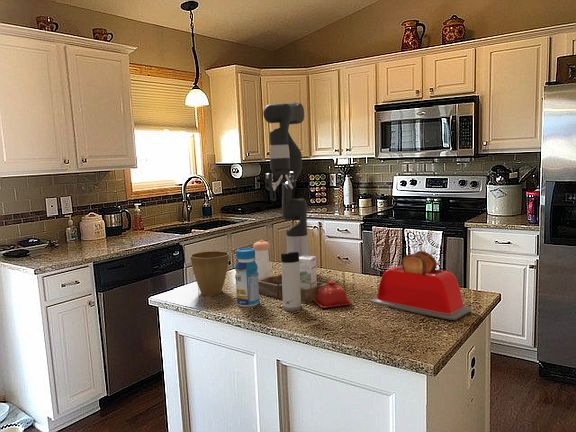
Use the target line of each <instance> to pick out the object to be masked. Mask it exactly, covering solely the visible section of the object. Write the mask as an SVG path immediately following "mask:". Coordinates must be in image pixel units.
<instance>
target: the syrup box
mask: <svg viewBox="0 0 576 432" xmlns="http://www.w3.org/2000/svg"><path fill="white" fill-rule="evenodd" d="M299 265H300V288H303V289H310V288H313V287H316V286H317V282H318V281H317V256H316V255H315V256H314V255H310V256H300V257H299Z"/></svg>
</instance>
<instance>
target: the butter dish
mask: <svg viewBox="0 0 576 432" xmlns="http://www.w3.org/2000/svg"><path fill="white" fill-rule="evenodd" d="M327 284H328V285H327V286H323V287H321V288H319V290H318V296H317V298H316V299H313V301H312V302H314V303H316V304H317V305H318V306H319V307H320V308H324V309H325V308H326V309H327V308H328V309H329V308H336V307H344V306H348V305H351V304H352V303H353V302H352V301H351V300H350V299H348V296H347V294H346V291H345V289H344V288H343V287H342V286H340V285H337V284H336V282H335V281H334V280H328V282H327Z"/></svg>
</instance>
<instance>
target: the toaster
mask: <svg viewBox="0 0 576 432" xmlns="http://www.w3.org/2000/svg"><path fill="white" fill-rule="evenodd" d="M437 264H438V263H437V260H436V259H435V257H434V256H432V255H431V253H429V252H427V251H424V250H417V251H416V252H415V253H412V254H411V253H410V254H407V255H405V256H403V257H402V259H401V265H398V266H395V267H392V268H389V269H387V270H385V271H384V272H383V273H382V275H381V278H380V282H379V285H378V290H377V295H376V297H373V298H371V299H370V300H369V301H370V303H372V304H375V305H381V306H384V307H388V308H392V309H396V310H401V311H405V312H410V313H413V314H414V313H415V314H420V315H423V316H424V315H425V316H429V317H434V318H438V319H442V320H448V321H457V320H458V319H460V318H462V317H463V316H465V315H468V314H469V313H470V312H472V311H473V309H472V307H469V306H465V305H464V300H463V296H462V292H461V288H460V284H459V282H458V280H457V277H456V275H455V274H454V273H453V272H452V271H451V272H450V271H448V270H440V269H437Z"/></svg>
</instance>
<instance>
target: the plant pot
mask: <svg viewBox="0 0 576 432" xmlns="http://www.w3.org/2000/svg"><path fill="white" fill-rule="evenodd" d="M229 256H230V254H229V252H227V251H220V250H212V251H211V250H210V251H209V250H208V251H200V252H194V253H192V254H190V256H189V257H190V261H191V266H192V271H193V274H194V277H195V281H196V283H197V286H198V290H199V291H200V293H201V295H202V296H204V297H205V296H209V297H212V296H213V297H214V296H217V295H220V294H221V293H222V291H223V287H224V286H225V285H224V284H225V281H226V276H227V272H228V264H229Z"/></svg>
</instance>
